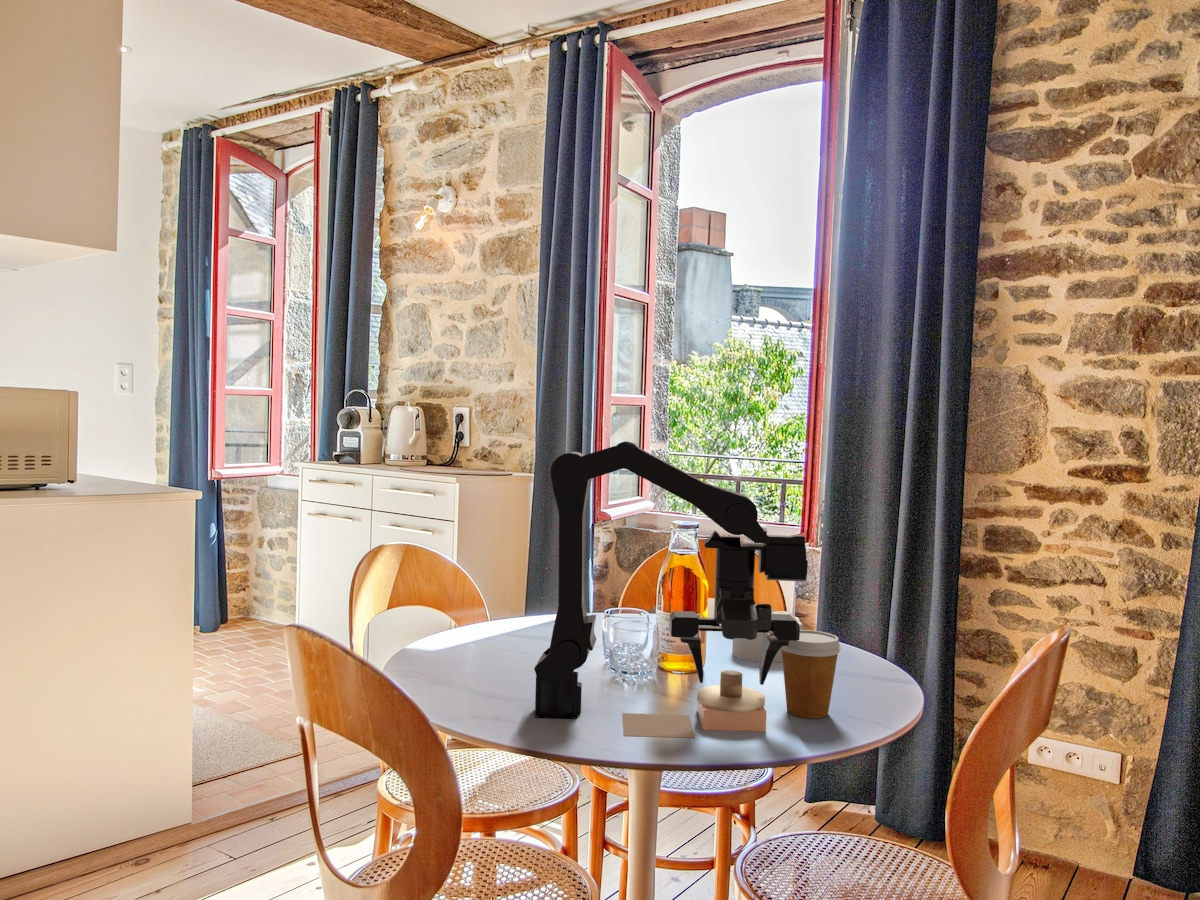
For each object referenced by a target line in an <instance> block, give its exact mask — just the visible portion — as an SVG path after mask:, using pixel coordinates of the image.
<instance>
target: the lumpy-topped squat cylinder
mask: <svg viewBox="0 0 1200 900" xmlns="http://www.w3.org/2000/svg"><path fill="white" fill-rule="evenodd" d="M771 614H790V615H791V616H792V617H793V618H794V619H795V620H796V621H797V623H798V624H799V627H800V630H804V629H803V622H801V621H800V620H801V619H800V618H799V617H797V616H795V615H794V614H793V613H792V612H790V611H787V610H786V611H785V610H777V611H775V610H774V608H771ZM762 641H763V633H758V632H757V637H756V639H753V640H747V639H745V638H734V639H732V648H731V649H732V652H731V653H732V656H734V657H736V656H737V657H736V658H738V657H740V658H739V659H742V658H744V659H743V660H746V659H748V660H747V661H751V660H754V661H753V662H757V661H761V651H762ZM772 664H783V659H782V649H781V648H780V649H779V651H778V652H777V654H776V655H775V657H774V659H773V661H772Z"/></svg>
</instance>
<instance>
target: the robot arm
mask: <svg viewBox="0 0 1200 900" xmlns="http://www.w3.org/2000/svg"><path fill="white" fill-rule="evenodd" d="M623 469H625V470H628V471H629V472H630V473H633V474H635V475H637V476H639V477H641V478H643V479H644V480H646V481H649V482H650V483H652V484H654V485H656V486H658V487H659V488H662V490H663V489H664V490H665V491H666V492H669V493H670V494H673V495H675V496H676V497H678V498H680V499H682V500H684V501H685V502H688V503H689V504H692V505H693V506H694V507H695V508H696V509H698V510H699V511H700V512H702V513H703V514H704V515H705V516H706V517H708V518H709V519H710V520H711V521H713V522H714V523H715V524H716V525H718V526H719V527H720V528H722V529H723V530H725V531H726V532H727V533H729V534H731V535H734V536H724V535H723V536H721V535H720V533H718V531H717V530H713V531H712V534H711V535H710V536H709V537H707V538H706V539H705V540H704V541H703V545H704V548H705V549H715V550H716V551H715V574H714V575H715V580H714V605H713V606H714V608H713V609H714V610H713V611H714V612H713V615H714V616H713V618H712V617H709V618H708V617H698V614H697V613H696V611H685V610H684V611H683V610H682V611H681V610H679V611H678V610H673V611H672V612H671V613H670V614H669V616H668V631H669V633H670V636H671V637H674V638H678V639H679V641H680V643H683V644H687V645H688V648H689V650H690V652H691V654H692V658H693V662H694V666H695V669H696V674H697V676H698V681H699V683H700V684H703V683H704V668H703V657H702V656H703V655H702V640H701V638H700V637H701V636H700V635H699V634H700V632H721V634H722V637H724V638H725V639H727V640H733V639H734V638H745V639H747V640H753V639H756V637H757V632H758V633H763V641H762V651H761V661H760V662H759V663H760V664H759V671H758V672H759V676H758V677H759V684H760V685H761V686H764V684H765V682H766V679H767V677H768V674H769V672H770V668H771V666H772V664H773V663H772V661H773V659H774V657H775V655H776V654H777V652H778V651H779V649H780V648H781V647H782V646H788V645H789V641H797V640H799V638H800V627H799V624H798V623H797V621H796V620H795V619H794V618H793V617H792V616H791V615H790V614H771V609H772V605H771V604H770V603H757V604H756V602H755V565H756V551H758V563H757V564H758V574H763V573H764V576H765V579H766V581H778V582H779V581H780V582H781V581H783V582H784V581H785V582H806V580H807V578H808V577H807V576H808V567H809V566H808V565H809V564H808V563H809V559H807V548H806V537H805V536H804V535H803V534H792V535H784V534H783V535H781V534H779V535H777V534H768V530H767V529H766V528H765V527H762V526H761V525H760V523H759V521H758V518H759V514H758V513H759V512H758V510H757V507H756V504H755V503H754V502H753V501H752V500H751V498H749V497H748V495H745V494H743V493H740V492H738V491H733V490H730V489H727V488H725V487H721V486H717V485H714V484H712V483H709V482H705V481H702V480H701V479H698V478H697V477H695V476H693V475H691V474H689V473H687V472H685V471H684V470H682V469H680V468H678V467H676V466H674V465H673V464H671V463H669V462H667V461H665V460H663V459H661V458H659V457H657V456H655V455H654V454H652V453H650V452H648V451H646V450H644V449H643V448H640V447H639V446H638V445H637V444H636V443H634V442H633V441H625V440H624V441H622V442H619V443H618V444H616V445H614V446H610V447H607V448H604V449H601V450H597V451H595V452H591V453H588V454H584V453H581V452H579V451H571V452H567V453H563V454H561V455H558V457H557V458H555V460H554V461H553V462H552V465H551V466H550V471H549V472H550V473H549V474H550V478H551V479H550V481H551V485H552V491H553V496H554V497H553V498H554V502H555V504H556V507H557V513H558V602H557V603H558V605H557V612H556V614H555V615H556V616H555V618H554V623H553V624H554V625H553V629H552V633H551V639H550V644H549V647H548V648H547V649H546V650H545V651H544V652H542V654H541V655H540V658H539V659H538V661H537V663H536V665H535V666H534V667H533V668H534V669H533V670H534V672H535V698H534V699H535V701H534V702H535V704H534V713H533V718H534V719H552V720H553V719H556V720H558V719H559V720H563V719H564V720H577V719H578V715H580V714H581V713H582V693H583V692H582V691H583V689H582V688H583V683H582V682H581V681H580V682H579V672H578V671H575V670H577V669H579V668H581V667H582V666H583V665H584V664H585V663H586V661H587V659H588V657H589V654H590V652H592V651H593V649H594V647H595V644H596V641H597V636H596V634H595V625H596V618H597V615H596V614H591V615H590V614H589V615H588V612H587V609H586V603H585V554H586V553H585V547H586V545H585V542H586V540H585V539H586V537H585V535H586V534H585V533H586V532H585V531H586V527H585V526H586V524H585V523H586V519H585V517H586V516H585V515H586V514H585V513H586V510H587V505H588V501H589V497H590V491H591V486H592V480H593V479H594V478H597V477H601V476H604V475H607V474H610V473H613V472H616V471H619V470H623ZM740 535H744V536H745V537H746V538H747V539H749V540H750V541H752V542H753V543H747V542H746V543H745V542H741V537H740Z"/></svg>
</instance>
